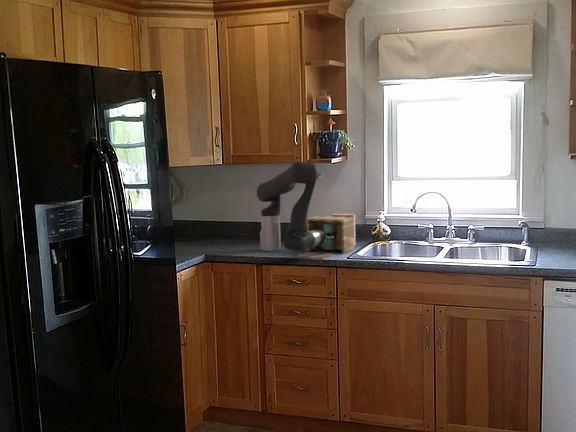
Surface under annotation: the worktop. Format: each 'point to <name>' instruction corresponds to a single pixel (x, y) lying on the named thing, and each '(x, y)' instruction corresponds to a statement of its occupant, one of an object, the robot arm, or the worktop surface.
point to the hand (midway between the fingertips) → (330, 233)
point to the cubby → (340, 226)
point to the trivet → (315, 255)
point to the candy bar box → (347, 216)
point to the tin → (329, 243)
